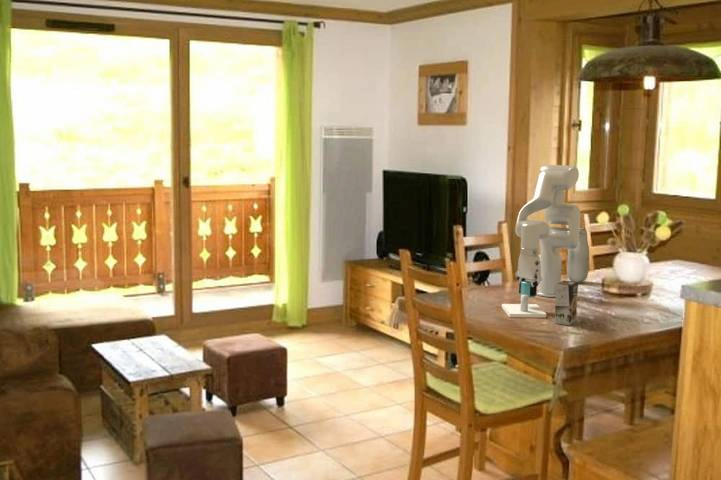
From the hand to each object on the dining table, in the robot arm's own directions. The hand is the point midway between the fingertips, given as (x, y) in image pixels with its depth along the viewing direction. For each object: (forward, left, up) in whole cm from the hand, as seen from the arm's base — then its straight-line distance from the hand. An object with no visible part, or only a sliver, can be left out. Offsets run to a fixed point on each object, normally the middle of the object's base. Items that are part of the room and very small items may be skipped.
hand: (527, 293), depth 330 cm
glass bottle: (-38, -62, -7) cm, 73 cm away
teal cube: (0, 0, -1) cm, 1 cm away
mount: (+2, +4, -7) cm, 9 cm away
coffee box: (-11, +20, -7) cm, 24 cm away
